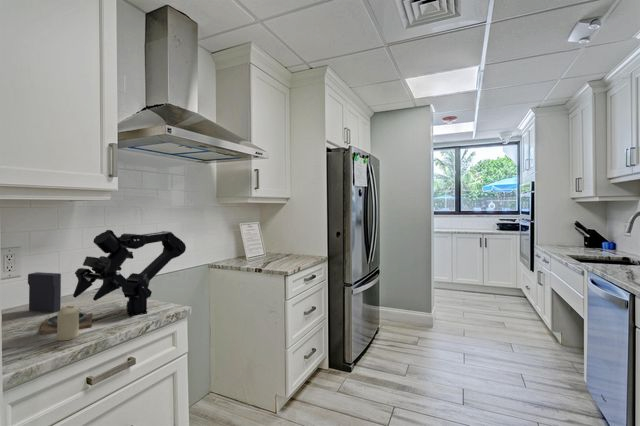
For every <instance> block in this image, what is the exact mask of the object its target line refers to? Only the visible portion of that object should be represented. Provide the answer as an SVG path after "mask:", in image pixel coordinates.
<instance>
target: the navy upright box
mask: <svg viewBox="0 0 640 426" xmlns="http://www.w3.org/2000/svg"><path fill="white" fill-rule="evenodd" d="M61 283H62V274H61V273H60V272H59V273H54V272H38V271H35V272H33V273H28V275H27V284H28V289H29V290H28V295H29V296H28V311H29V312H38V313H39V312H40V313H52V314H53V313H58V312H59V311H60V310H61V309H62V305H61V303H62V300H61V299H62V298H61V295H62V284H61Z"/></svg>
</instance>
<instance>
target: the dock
mask: <svg viewBox="0 0 640 426" xmlns="http://www.w3.org/2000/svg"><path fill="white" fill-rule="evenodd" d="M93 313H94V312H90V313H87V312H84V311H83V312H82V311H81V312H80V311H79V330H80V329H87V328H92V324H93V323H92V322H93V316H94V315H93ZM38 333H39V335H45V334H46V335H47V334H51V333H53V334H54V333H57V315H54V316H51V317H49V318H48V317H47V318H45V320H44V321H43V323H42V326H41V328H40V330H39V332H38Z"/></svg>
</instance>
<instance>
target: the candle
mask: <svg viewBox="0 0 640 426" xmlns="http://www.w3.org/2000/svg"><path fill="white" fill-rule="evenodd" d="M79 312H80V310H79V308H77V307H76V306H74V305H66V306H65V307H61V308H60V311H57V315H56V316H57V332H56V338H57V341H70V340H74V339H77V338H78V337H79V335H80V334H79V332H80V331H79V330H80V329H79Z"/></svg>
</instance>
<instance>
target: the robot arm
mask: <svg viewBox="0 0 640 426" xmlns="http://www.w3.org/2000/svg"><path fill="white" fill-rule="evenodd" d="M160 242H161V246H162V252H161V253H160V254H159V255H158V256H157V257H155V259H153V260H152V262H150V263H149V265H147V266H146V267H145V268H144V269H143V270H142V271H141V272H140V273H134V272H133V273H130V274H129V276H128V277H127V278H126V277H125V276H124V275H122V274H121V272H122V269H123V268H122V266H123V263H124V262H126V260H127V259H132V260H133V259H134V255H133V251H130V250H128V249H132V250H137V249H139V248H143V247H144V246H145V245H149V244H153V243H160ZM93 243H94V244H95V246H97V247H98V248H99V250H101V251H102V252H103V253H104V254H108V255H107V256H103V255H101V256H99V257H95V256H86V257H85V259H84V260H83V263H82V266H84V267H80V268H77V270H76V271H75V272H74V274H75V277H76V278H77V285H75V286H76V287H75V290H74V292H73V294H72V297H74V298H78V297H79V296H80V295H81V294H83V293H84V292H85V291H86V290H88V289H89V288H90V287H92V286H93V283H95V282H96V280H99V281H100V280H101V281H102V284H101V285H100V287H99V289H98V290H97V292H96V293H95V295H94V296H93V298H92V300H93V301H98V300H99V299H101V298H102V297H104V296H107V295H108V294H110V293H112V292H114V291H116V290H119V289H120V288H121V291H122V293H123V295H124V298H128V300H127V301H126V313H127V315H128V316H136V315H143V314H148V310H147V309H148V307H147V304H148V303H147V301H148V299H149V298H150V297H152V290H151V289H150V288H149V286H150V281H151V280H152V279H153V278H154V277H155V276H156V275H157V274H158V273H159V272H160V271H161V270H162V269H164V267H166V265H167V264H168V263H169V262H170V261H171V260H173V259H176V258H179V257H180V256H181V255H183V254H184V253H185V252H186V249H187V246H186V243H185V242H184V241H182V240H181V239H180V238H179V237H177V236H176V235H175V234H174V233H173V232H171V231H164V230H163V231H159V232H158V231H157V232H151V233H144V234H137V233H122V234H121V235H120V236H117V235H116V234H115V232H114V231H113V230H111V229H107V230H105V231H103V232H100V233H99V234H98V235H96V236H95V237H94V239H93ZM85 267H89V268H90V269H89V268H85ZM118 271H119V272H118ZM120 271H121V272H120Z"/></svg>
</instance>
